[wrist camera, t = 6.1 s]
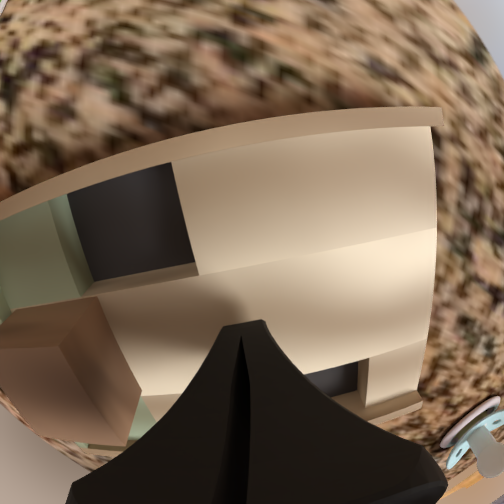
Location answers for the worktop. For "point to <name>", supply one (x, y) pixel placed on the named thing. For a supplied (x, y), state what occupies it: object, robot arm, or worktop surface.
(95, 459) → the worktop surface
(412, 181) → the tray
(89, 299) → the walnut block
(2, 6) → the supplement bottle
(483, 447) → the pacifier
